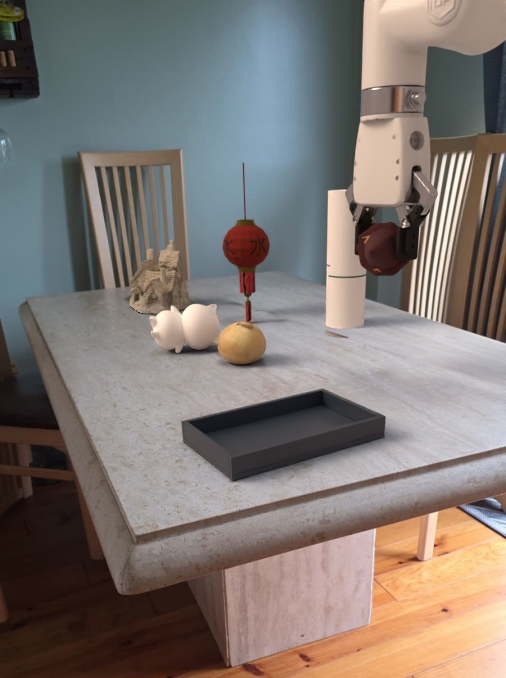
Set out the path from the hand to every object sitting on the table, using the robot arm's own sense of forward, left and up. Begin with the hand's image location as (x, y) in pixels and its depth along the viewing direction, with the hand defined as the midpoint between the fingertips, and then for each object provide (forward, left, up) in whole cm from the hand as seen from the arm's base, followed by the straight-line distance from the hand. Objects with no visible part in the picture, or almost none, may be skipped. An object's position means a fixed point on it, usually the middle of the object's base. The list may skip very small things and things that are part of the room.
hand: (384, 256), depth 83 cm
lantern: (+46, -5, -18) cm, 49 cm away
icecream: (0, 0, -3) cm, 3 cm away
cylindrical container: (+27, -15, -18) cm, 35 cm away
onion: (+22, +10, -18) cm, 30 cm away
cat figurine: (+35, +14, -18) cm, 41 cm away
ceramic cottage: (+74, +4, -18) cm, 76 cm away
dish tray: (-9, +22, -18) cm, 30 cm away
